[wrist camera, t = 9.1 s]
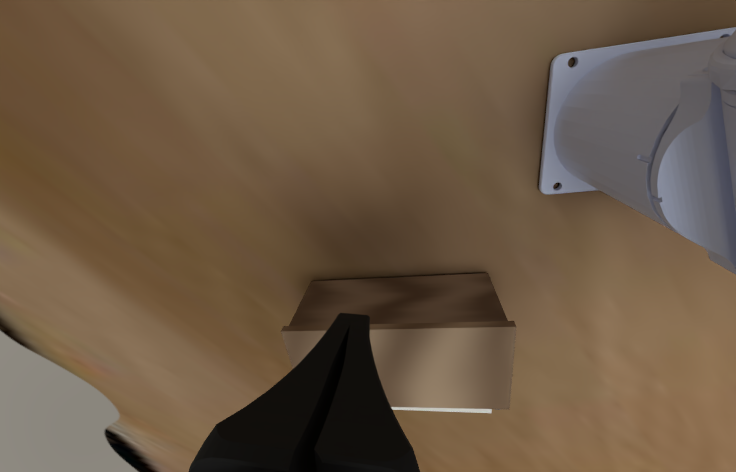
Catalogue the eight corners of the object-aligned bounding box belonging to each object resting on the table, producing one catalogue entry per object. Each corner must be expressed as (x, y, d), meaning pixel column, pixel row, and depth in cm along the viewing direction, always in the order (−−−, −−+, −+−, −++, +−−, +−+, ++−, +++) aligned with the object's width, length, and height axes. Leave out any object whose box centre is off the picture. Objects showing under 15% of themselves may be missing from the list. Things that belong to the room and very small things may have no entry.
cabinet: (492, 271, 24) (516, 326, 18) (489, 343, 26) (509, 409, 21) (307, 280, 26) (280, 331, 21) (324, 345, 29) (304, 405, 24)
